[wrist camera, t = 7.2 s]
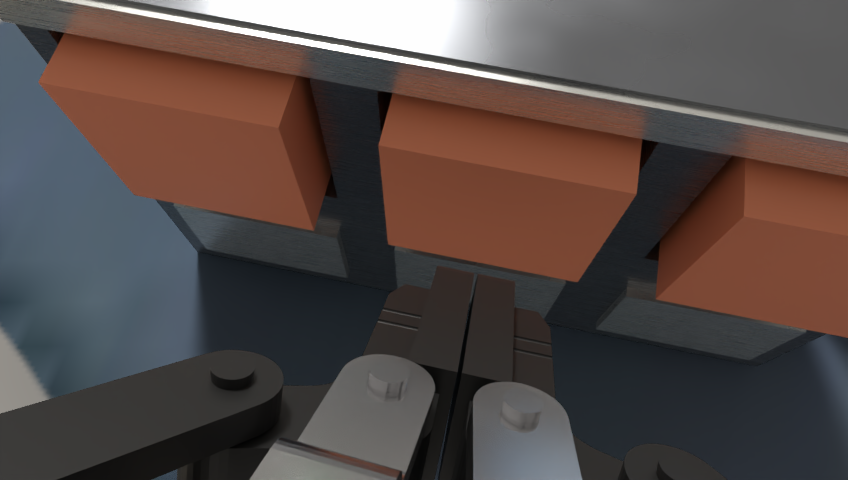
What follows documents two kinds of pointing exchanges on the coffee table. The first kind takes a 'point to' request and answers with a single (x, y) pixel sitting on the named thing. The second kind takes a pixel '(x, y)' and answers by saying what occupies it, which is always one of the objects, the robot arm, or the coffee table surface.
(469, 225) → the switch
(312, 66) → the dark grey block
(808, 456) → the coffee table surface
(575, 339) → the coffee table surface
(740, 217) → the switch
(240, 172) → the switch
